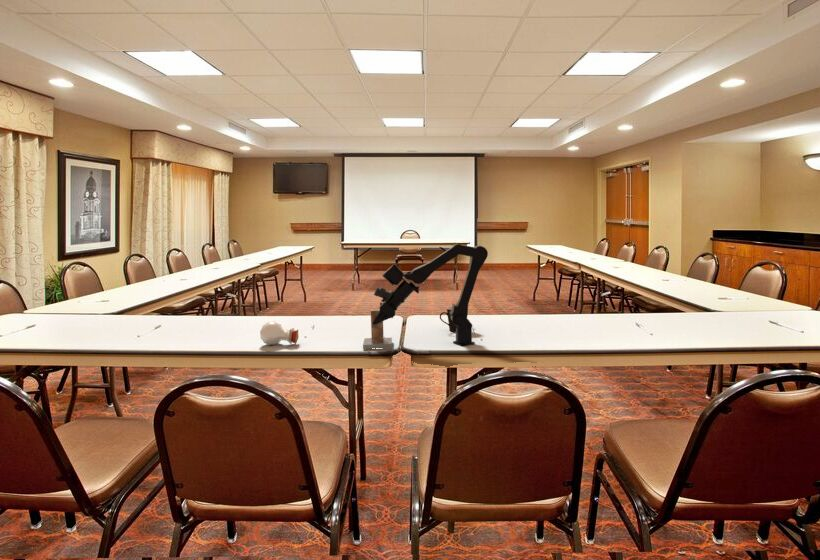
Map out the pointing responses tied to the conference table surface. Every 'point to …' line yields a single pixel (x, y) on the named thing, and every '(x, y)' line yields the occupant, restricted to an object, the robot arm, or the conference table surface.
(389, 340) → the slate slab
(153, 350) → the conference table surface
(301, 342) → the conference table surface
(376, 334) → the walnut block
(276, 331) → the potion bottle
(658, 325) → the conference table surface
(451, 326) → the coffee mug
